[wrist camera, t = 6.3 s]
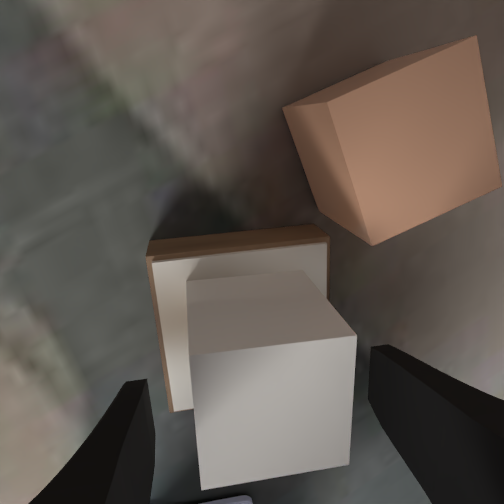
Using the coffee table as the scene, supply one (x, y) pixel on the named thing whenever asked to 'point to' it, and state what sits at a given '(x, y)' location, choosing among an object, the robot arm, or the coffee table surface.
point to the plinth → (219, 266)
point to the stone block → (268, 377)
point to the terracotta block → (399, 141)
